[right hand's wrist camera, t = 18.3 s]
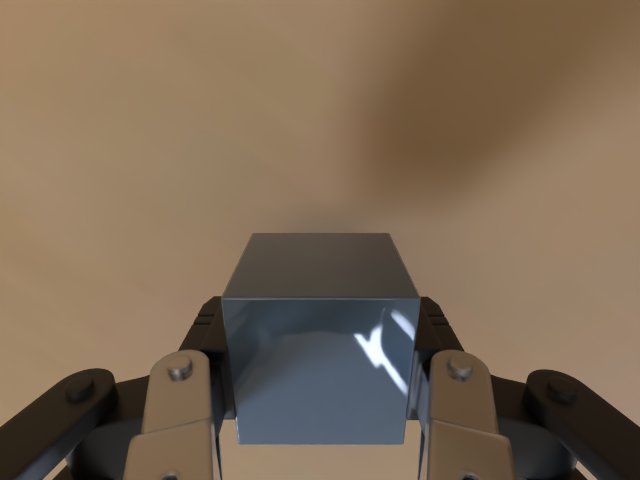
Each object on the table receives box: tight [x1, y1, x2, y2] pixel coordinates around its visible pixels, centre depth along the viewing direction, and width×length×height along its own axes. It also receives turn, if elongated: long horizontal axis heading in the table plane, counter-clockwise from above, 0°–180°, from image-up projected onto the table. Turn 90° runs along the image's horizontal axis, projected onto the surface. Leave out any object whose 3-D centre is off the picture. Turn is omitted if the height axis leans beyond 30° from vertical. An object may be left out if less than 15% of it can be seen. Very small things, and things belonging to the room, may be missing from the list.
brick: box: [221, 233, 421, 445], centre depth 11 cm, size 5×4×4 cm
